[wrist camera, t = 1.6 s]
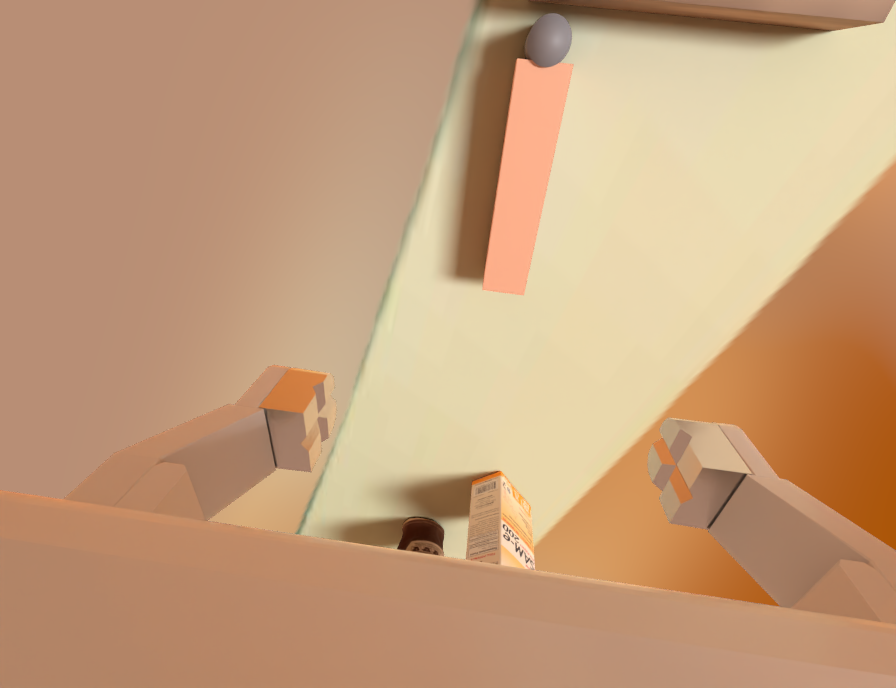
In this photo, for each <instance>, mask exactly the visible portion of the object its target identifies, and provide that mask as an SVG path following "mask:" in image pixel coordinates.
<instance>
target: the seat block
mask: <svg viewBox="0 0 896 688" xmlns="http://www.w3.org/2000/svg"><path fill="white" fill-rule="evenodd" d="M529 1H535V2H545V3H555V4H565V5H575V6H586V7H596V8H606V9H616V10H626V11H637V12H647V13H657V14H667V15H677V16H688V17H698V18H708V19H718V20H728V21H739V22H749V23H759V24H769V25H779V26H790V27H800V28H810V29H820V30H830V31H835V30H841V29H847V28H853V27H859V26H865V25H871V24H877V23H883V22H884V21H885V19H886V17H887V15H888V14H889V12H890V10H891V8H892V6H893V4H894V2H895V1H896V0H529Z"/></svg>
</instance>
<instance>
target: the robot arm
mask: <svg viewBox="0 0 896 688" xmlns="http://www.w3.org/2000/svg"><path fill="white" fill-rule="evenodd" d="M334 388H335V383H334V376H333V375H332V374H331V373H326V372H319V371H312V370H306V369H299V368H291V367H285V366H278V365H272V366H269V367H268V368H267V369H266V370H265V371H264V372H263V373H262V374H261V375H260V377H259V378H258V379H257V380H256V381H255V382H254V383H253V384H252V386H251V387H250V388H249V389H248V390H247V391H246V392H245V394H244V395H243V396H242V397H241V398H240V399H239V400H238V401H237V403H236V404H235V405H232V404H227V405H225V406H223V407H220V408H218V409H216V410H213V411H211V412H209V413H206V414H204V415H202V416H199V417H197V418H195V419H192V420H190V421H188V422H185V423H183V424H181V425H178V426H176V427H174V428H171V429H169V430H167V431H164V432H162V433H160V434H157V435H155V436H153V437H150V438H148V439H146V440H143V441H141V442H139V443H136V444H134V445H132V446H129V447H127V448H125V449H122V450H120V451H118V452H115V453H114V454H113V455H112V456H110V457H109V458H108V459H107V460H106V461H105V462H104V463H103V464H102V465H100V466H99V467H98V468H97V469H96V470H95V471H94V472H93V473H92V474H90V475H89V476H88V477H87V478H86V479H85V480H84V481H83V482H82V483H81V484H79V485H78V486H77V487H76V488H75V489H74V490H73V491H72V492H70V493H69V494H68V495H67V496H66V497H65V498H64V499H57V498H51V497H44V496H37V495H30V494H24V493H17V492H10V491H4V490H0V688H896V551H895V550H894V549H892V548H891V547H889V546H888V545H886V544H885V543H883V542H882V541H880V540H879V539H877V538H875V537H874V536H872V535H871V534H869V533H868V532H866V531H865V530H863V529H862V528H860V527H858V526H857V525H855V524H854V523H852V522H851V521H849V520H848V519H846V518H844V517H843V516H841V515H840V514H839V513H837V512H835V511H834V510H832V509H831V508H829V507H828V506H826V505H825V504H823V503H822V502H820V501H819V500H817V499H816V498H814V497H812V496H811V495H809V494H808V493H806V492H805V491H803V490H802V489H800V488H799V487H797V486H796V485H794V484H793V483H791V482H789V481H788V480H785V479H779V477H778V476H777V475H776V473H775V472H774V471H773V470H772V468H771V467H770V466H769V464H768V463H767V462H766V460H765V459H764V458H763V457H762V455H761V454H760V453H759V451H758V450H757V449H756V447H755V446H754V445H753V444H752V442H751V441H750V440H749V439H748V437H747V436H746V434H745V433H744V432H743V431H742V429H741V428H739V427H737V426H736V425H731V424H722V423H707V422H699V421H690V420H683V419H675V418H667V419H666V420H665V421H664V422H663V424H662V426H661V428H660V433H661V435H662V437H663V438H661V439H660V440H658V441H656V442H655V443H653V444H652V447H651V449H650V451H649V454H648V471H649V475H650V477H651V480H652V482H653V483H654V484H655V485H656V486H657V487H658V488H659V489H661V490H662V493H661V495H660V497H659V499H660V502H661V504H662V506H663V509H664V511H665V513H666V516H667V518H668V520H669V523H672V524H678V525H684V526H690V527H695V528H702V529H707V530H708V532H709V533H710V534H711V535H712V536H713V537H714V538H715V539H716V540H717V541H718V542H719V543H720V545H721V546H722V547H723V548H724V549H725V550H726V551H727V552H728V553H729V554H730V555H731V556H732V557H733V558H734V559H735V560H736V561H737V562H738V563H739V564H740V565H741V566H742V567H743V568H744V569H745V570H746V571H747V572H748V573H749V574H750V575H751V577H752V578H754V580H755V581H756V582H757V583H758V584H759V585H760V586H761V587H762V588H763V589H764V590H765V591H766V592H767V593H768V594H769V595H770V596H771V597H772V598H773V599H774V600H775V601H776V602H777V603H778V604H779V606H780V607H778V606H771V605H765V604H758V603H752V602H745V601H738V600H732V599H725V598H718V597H712V596H705V595H699V594H692V593H685V592H678V591H672V590H665V589H658V588H651V587H645V586H638V585H632V584H625V583H617V582H612V581H605V580H598V579H592V578H584V577H577V576H571V575H564V574H558V573H551V572H545V571H538V570H531V569H525V568H518V567H511V566H505V565H498V564H491V563H485V562H478V561H471V560H465V559H458V558H452V557H445V556H438V555H432V554H425V553H418V552H412V551H405V550H398V549H392V548H385V547H378V546H371V545H365V544H358V543H351V542H345V541H338V540H331V539H325V538H318V537H311V536H305V535H298V534H291V533H285V532H278V531H271V530H265V529H258V528H251V527H245V526H237V525H231V524H224V523H218V522H210V521H208V520H209V519H210V518H212V517H213V516H214V515H216V514H217V513H218V512H220V511H221V510H222V509H224V508H225V507H227V506H228V505H229V504H231V503H232V502H233V501H235V500H236V499H237V498H239V497H240V496H241V495H243V494H244V493H245V492H247V491H248V490H249V489H251V488H252V487H254V486H255V485H256V484H258V483H259V482H260V481H262V480H263V479H264V478H266V477H267V476H268V475H270V474H271V473H273V472H274V471H275V470H276V468H279V469H288V470H297V471H306V472H312V469H313V468H314V466H315V464H316V462H317V460H318V458H319V456H320V454H321V452H322V445H321V442H323V441H324V440H326V439H328V438H329V436H330V434H331V432H332V430H333V427H334V423H335V420H336V411H337V407H336V401H335V399H334V398H333V397H332V396H331V393H332V392H333V390H334Z"/></svg>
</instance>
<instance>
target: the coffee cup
mask: <svg viewBox="0 0 896 688" xmlns="http://www.w3.org/2000/svg"><path fill="white" fill-rule="evenodd" d="M402 530H403V535H402V539H401V541H400V543H399V546H398V548H397V549H398V550H405V551H412V552H418V553H425V554H432V555H438V556H444V552H443V540H444V529H443V528H442V527H441V526H440V525H439V524H438V523H436V522H434V521H432V520H428V519H424V518H410V519H408V520H407V521H405V522H404V524H403V529H402Z"/></svg>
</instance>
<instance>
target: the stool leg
mask: <svg viewBox="0 0 896 688" xmlns="http://www.w3.org/2000/svg"><path fill="white" fill-rule="evenodd" d="M571 40H572V32H571V28H570V25H569V23H568V21H567V20H566V19H565V18H564V17H563V16H561V15H559V14H556V13H550V14H546V15H544V16H542V17H541V18H539V19H538V20H537V21H536V22H535V24H534V25H533V27H532V28H531V30H530V32H529V34H528V36H527V38H526V41H525V47H524V51H525V57H526V59H518V58H517V60H516V63H515V69H514V76H513V83H512V89H511V96H510V103H509V109H508V116H507V123H506V129H505V136H504V143H503V149H502V156H501V163H500V169H499V176H498V183H497V189H496V196H495V203H494V209H493V216H492V223H491V230H490V236H489V243H488V250H487V256H486V263H485V270H484V278H483V289H482V290H487V291H495V292H503V293H510V294H518V295H524V292H525V287H526V282H527V278H528V273H529V269H530V264H531V259H532V255H533V250H534V245H535V241H536V236H537V231H538V227H539V222H540V218H541V213H542V208H543V204H544V199H545V194H546V190H547V185H548V180H549V176H550V171H551V167H552V162H553V157H554V153H555V148H556V143H557V139H558V134H559V129H560V125H561V120H562V116H563V111H564V106H565V102H566V97H567V92H568V88H569V83H570V78H571V74H572V69H573V65H574V64H566V63H559V62H560V61H562V60H563V59H564V57H565V56H566V54H567V53H568V51H569V48H570V45H571Z"/></svg>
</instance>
